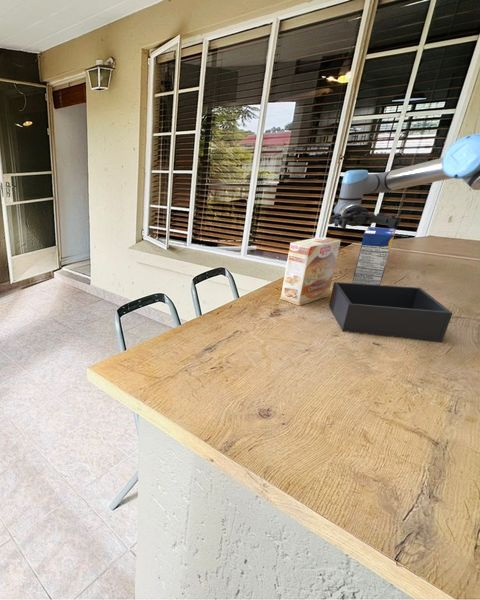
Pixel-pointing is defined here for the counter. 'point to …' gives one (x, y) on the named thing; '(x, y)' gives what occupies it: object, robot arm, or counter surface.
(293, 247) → the coffeecake box
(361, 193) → the robot arm
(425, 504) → the counter surface
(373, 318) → the bin
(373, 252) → the beverage box
